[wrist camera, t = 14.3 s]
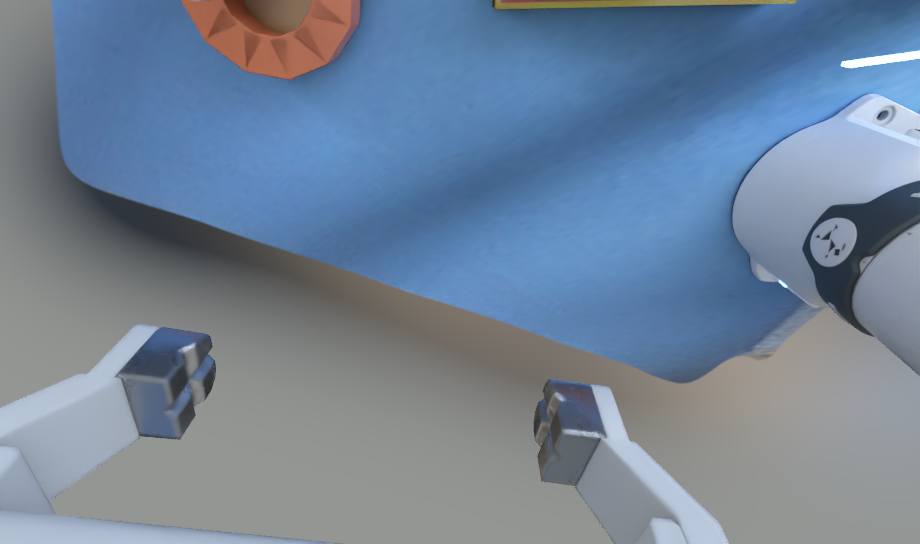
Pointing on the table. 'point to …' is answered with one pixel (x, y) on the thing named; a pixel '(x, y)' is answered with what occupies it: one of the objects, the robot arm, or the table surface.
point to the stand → (278, 12)
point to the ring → (276, 35)
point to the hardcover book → (620, 3)
